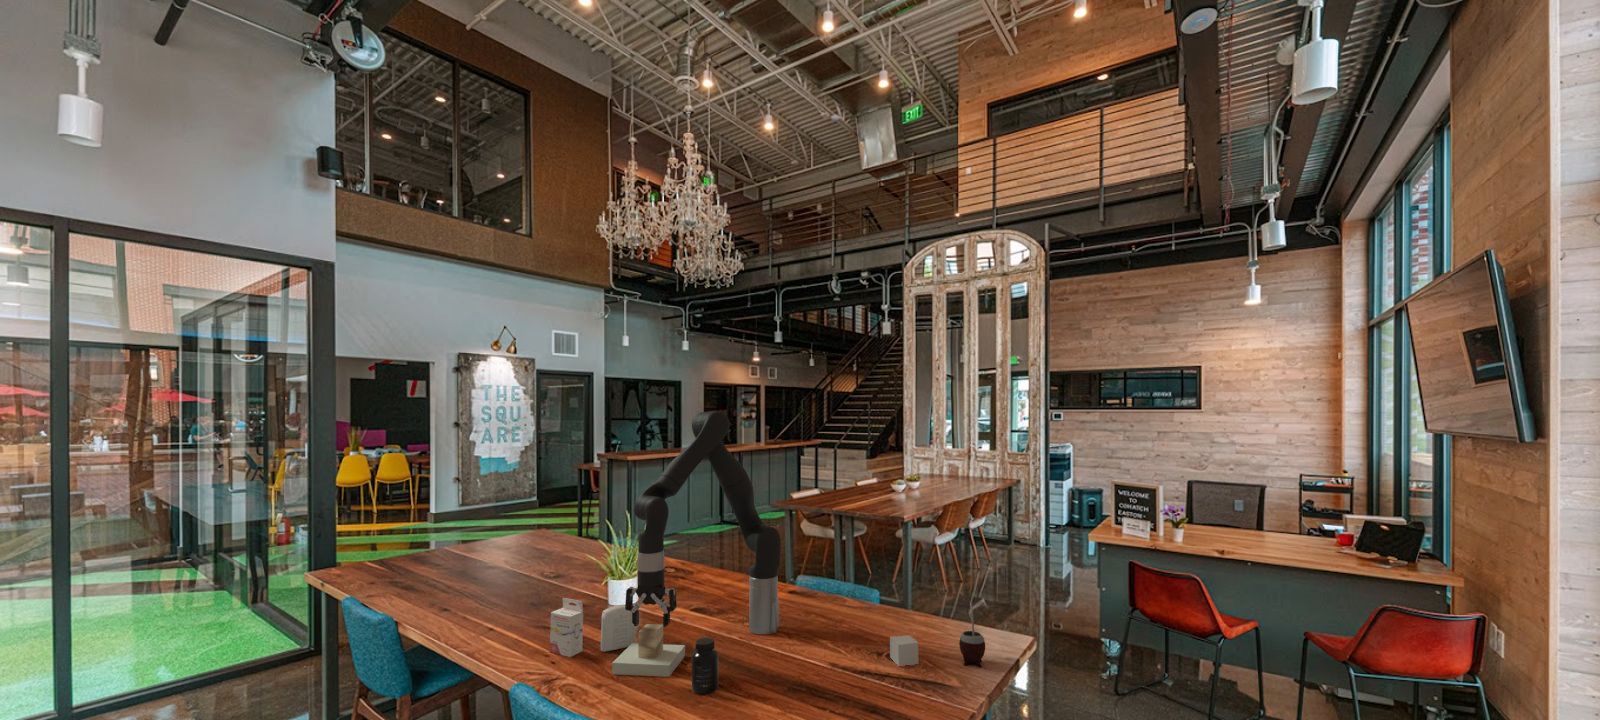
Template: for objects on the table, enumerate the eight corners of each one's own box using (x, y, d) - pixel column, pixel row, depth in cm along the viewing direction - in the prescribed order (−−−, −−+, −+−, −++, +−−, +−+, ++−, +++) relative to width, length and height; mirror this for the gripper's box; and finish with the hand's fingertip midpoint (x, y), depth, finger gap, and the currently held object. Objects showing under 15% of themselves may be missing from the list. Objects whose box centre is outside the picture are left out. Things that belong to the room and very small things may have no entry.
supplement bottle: (692, 683, 162) (693, 636, 163) (719, 682, 162) (719, 635, 163) (690, 695, 155) (690, 646, 156) (717, 694, 155) (717, 645, 156)
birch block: (663, 649, 176) (663, 624, 177) (655, 658, 171) (655, 632, 171) (646, 649, 177) (646, 624, 178) (638, 657, 171) (638, 631, 172)
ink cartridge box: (548, 652, 182) (549, 601, 184) (561, 646, 187) (562, 597, 188) (570, 657, 179) (571, 605, 180) (583, 651, 183) (584, 600, 184)
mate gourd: (972, 670, 169) (970, 614, 170) (952, 660, 176) (951, 606, 177) (992, 665, 172) (990, 610, 173) (972, 655, 179) (971, 602, 180)
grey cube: (909, 656, 179) (909, 635, 179) (918, 664, 173) (918, 642, 173) (890, 658, 177) (889, 637, 178) (898, 667, 171) (898, 644, 172)
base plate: (685, 655, 180) (685, 645, 180) (669, 676, 166) (669, 665, 166) (632, 653, 181) (632, 643, 182) (612, 674, 168) (612, 662, 168)
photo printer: (632, 641, 191) (633, 600, 192) (637, 646, 187) (637, 604, 188) (598, 649, 185) (599, 606, 186) (602, 653, 182) (603, 610, 182)
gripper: (679, 564, 178) (679, 621, 177) (632, 563, 180) (631, 620, 179) (671, 571, 171) (671, 631, 170) (621, 570, 173) (621, 630, 171)
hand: (651, 625), depth 174 cm, fingers open, 8 cm apart
